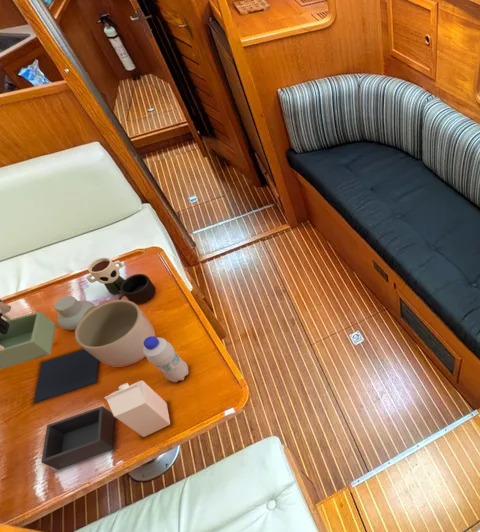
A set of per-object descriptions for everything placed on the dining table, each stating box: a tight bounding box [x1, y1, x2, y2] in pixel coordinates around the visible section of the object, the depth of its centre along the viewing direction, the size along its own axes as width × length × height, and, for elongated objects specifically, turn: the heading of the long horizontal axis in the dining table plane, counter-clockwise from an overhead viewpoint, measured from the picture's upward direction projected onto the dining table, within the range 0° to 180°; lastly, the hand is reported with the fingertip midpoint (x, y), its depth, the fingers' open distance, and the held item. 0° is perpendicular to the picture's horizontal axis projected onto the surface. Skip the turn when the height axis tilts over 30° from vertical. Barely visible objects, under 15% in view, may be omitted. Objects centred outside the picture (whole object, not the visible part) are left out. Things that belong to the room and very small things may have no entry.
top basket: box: [0, 310, 57, 370], centre depth 99 cm, size 13×10×12 cm
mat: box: [33, 348, 100, 404], centre depth 120 cm, size 16×14×1 cm
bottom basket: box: [40, 405, 116, 470], centre depth 105 cm, size 13×10×6 cm
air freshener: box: [53, 295, 97, 331], centre depth 129 cm, size 11×8×10 cm
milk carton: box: [104, 379, 171, 438], centre depth 104 cm, size 7×7×19 cm
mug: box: [118, 273, 157, 305], centre depth 136 cm, size 12×9×7 cm
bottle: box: [143, 336, 189, 383], centre depth 113 cm, size 7×7×20 cm
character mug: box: [85, 257, 125, 296], centre depth 137 cm, size 11×7×13 cm, turn 137°
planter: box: [74, 299, 156, 368], centre depth 120 cm, size 17×17×15 cm
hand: (1, 330), depth 98 cm, fingers closed on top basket, 1 cm apart
